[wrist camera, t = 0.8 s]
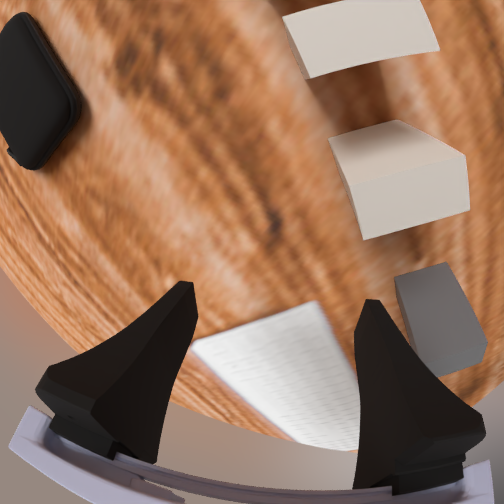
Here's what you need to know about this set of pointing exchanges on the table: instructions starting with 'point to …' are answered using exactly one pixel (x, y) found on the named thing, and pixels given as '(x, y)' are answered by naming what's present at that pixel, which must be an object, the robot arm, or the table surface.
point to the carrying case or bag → (33, 94)
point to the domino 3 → (440, 320)
